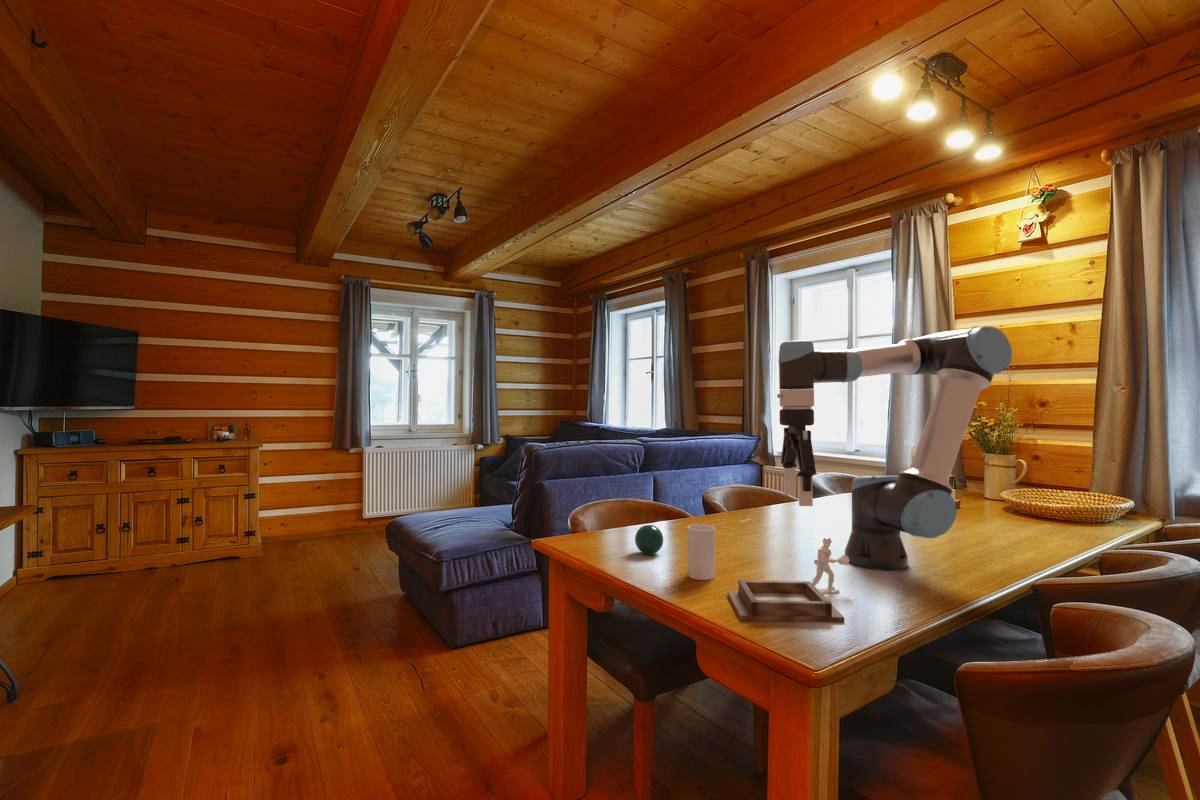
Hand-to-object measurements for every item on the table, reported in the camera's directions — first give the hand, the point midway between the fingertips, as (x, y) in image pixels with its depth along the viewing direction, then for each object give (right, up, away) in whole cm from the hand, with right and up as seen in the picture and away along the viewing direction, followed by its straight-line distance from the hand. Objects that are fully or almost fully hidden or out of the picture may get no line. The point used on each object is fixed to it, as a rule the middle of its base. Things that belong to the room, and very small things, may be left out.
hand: (797, 500), depth 131 cm
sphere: (-32, -20, +28) cm, 47 cm away
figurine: (+6, -20, -3) cm, 21 cm away
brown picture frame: (-8, -20, -13) cm, 25 cm away
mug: (-21, -20, +10) cm, 30 cm away
